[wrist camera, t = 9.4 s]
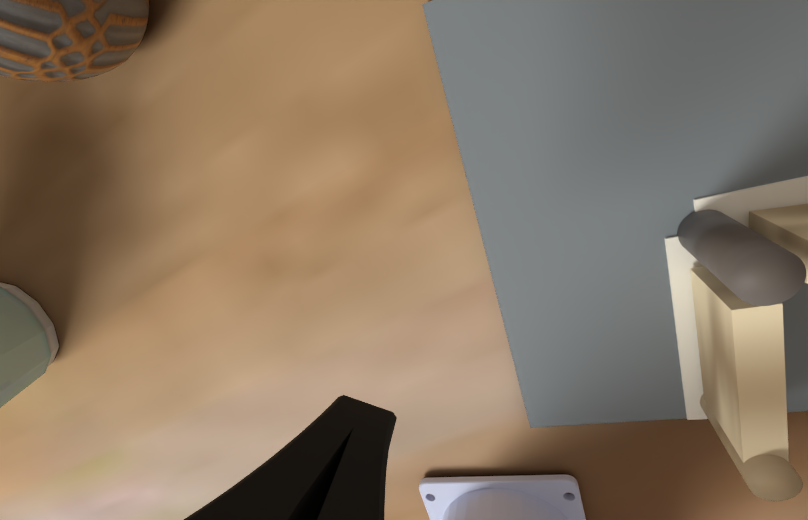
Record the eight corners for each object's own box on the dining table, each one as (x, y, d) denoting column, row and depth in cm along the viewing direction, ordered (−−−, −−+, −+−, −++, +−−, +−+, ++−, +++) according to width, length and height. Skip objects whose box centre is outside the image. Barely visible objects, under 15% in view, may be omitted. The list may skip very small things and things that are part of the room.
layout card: (1134, 382, 13) (1156, 392, 13) (530, 421, 20) (530, 429, 19) (1314, -364, 8) (1359, -389, 8) (424, 6, 15) (421, 3, 14)
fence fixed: (739, 405, 17) (811, 506, 13) (693, 409, 17) (749, 507, 13) (723, 201, 14) (805, 243, 10) (670, 211, 15) (729, 256, 11)
